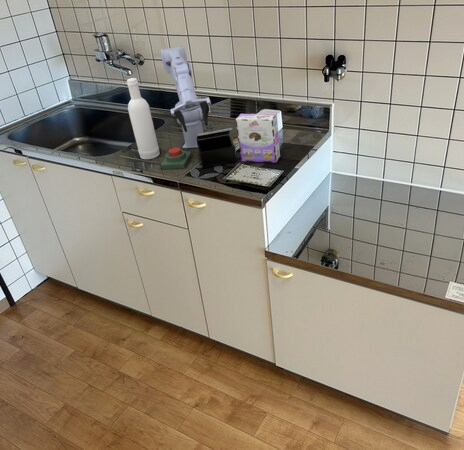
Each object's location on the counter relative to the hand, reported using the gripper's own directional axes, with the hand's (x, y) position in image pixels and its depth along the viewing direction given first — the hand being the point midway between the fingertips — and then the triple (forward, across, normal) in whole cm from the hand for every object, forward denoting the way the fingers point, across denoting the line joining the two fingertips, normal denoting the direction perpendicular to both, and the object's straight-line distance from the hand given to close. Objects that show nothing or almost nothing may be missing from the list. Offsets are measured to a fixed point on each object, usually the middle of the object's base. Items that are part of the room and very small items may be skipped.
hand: (196, 127), depth 166 cm
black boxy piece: (+8, +3, +13) cm, 16 cm away
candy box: (+14, +19, +11) cm, 26 cm away
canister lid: (+2, +5, +6) cm, 8 cm away
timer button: (+3, -11, +10) cm, 15 cm away
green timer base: (+5, -12, +12) cm, 18 cm away
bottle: (-3, -23, +18) cm, 29 cm away
